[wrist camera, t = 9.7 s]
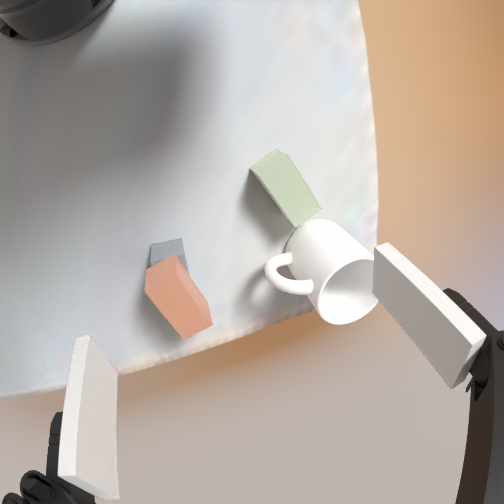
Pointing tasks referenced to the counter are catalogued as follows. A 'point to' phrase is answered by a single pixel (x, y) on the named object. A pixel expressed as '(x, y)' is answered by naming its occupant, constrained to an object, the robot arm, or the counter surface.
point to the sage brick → (286, 187)
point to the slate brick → (168, 252)
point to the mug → (327, 271)
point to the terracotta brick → (177, 297)
